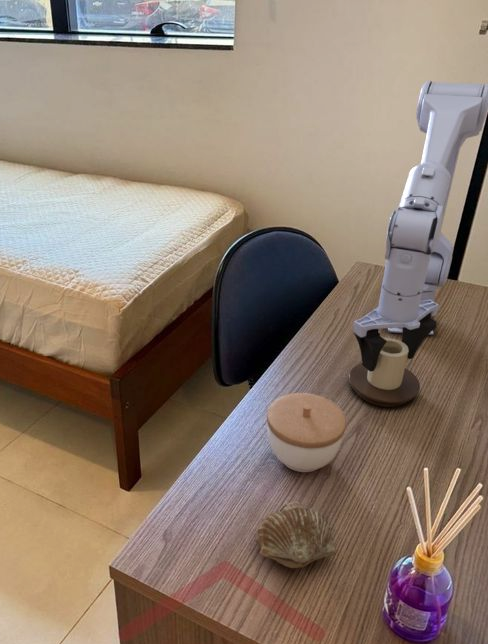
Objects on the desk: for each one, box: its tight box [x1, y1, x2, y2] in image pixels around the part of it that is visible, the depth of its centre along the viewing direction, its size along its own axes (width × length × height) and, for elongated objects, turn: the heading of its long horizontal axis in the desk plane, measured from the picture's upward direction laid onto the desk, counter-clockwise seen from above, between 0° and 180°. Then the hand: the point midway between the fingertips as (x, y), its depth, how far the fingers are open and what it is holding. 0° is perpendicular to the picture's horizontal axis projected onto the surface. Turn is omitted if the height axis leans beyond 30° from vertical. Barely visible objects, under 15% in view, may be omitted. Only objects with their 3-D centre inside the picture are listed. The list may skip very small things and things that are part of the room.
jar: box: [367, 337, 409, 390], centre depth 96 cm, size 5×5×6 cm
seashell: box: [253, 501, 338, 569], centre depth 71 cm, size 9×7×8 cm
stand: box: [348, 362, 421, 408], centre depth 99 cm, size 11×11×2 cm
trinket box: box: [266, 392, 347, 473], centre depth 84 cm, size 11×11×9 cm
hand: (387, 361), depth 96 cm, fingers open, 7 cm apart
